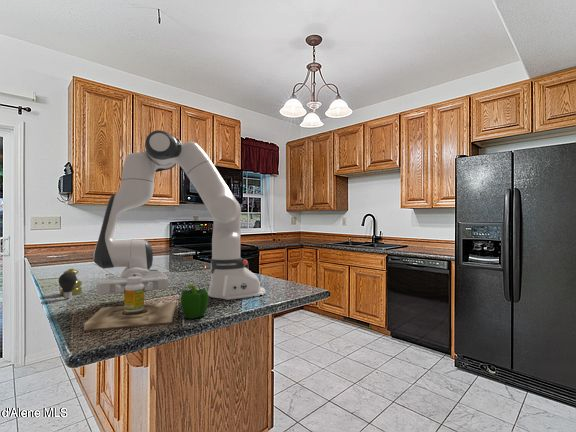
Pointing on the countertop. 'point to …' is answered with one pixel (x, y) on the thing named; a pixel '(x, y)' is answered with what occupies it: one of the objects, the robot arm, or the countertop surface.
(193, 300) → the bell pepper
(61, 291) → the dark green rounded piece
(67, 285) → the light bulb
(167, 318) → the socket board
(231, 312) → the countertop surface
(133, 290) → the supplement bottle
